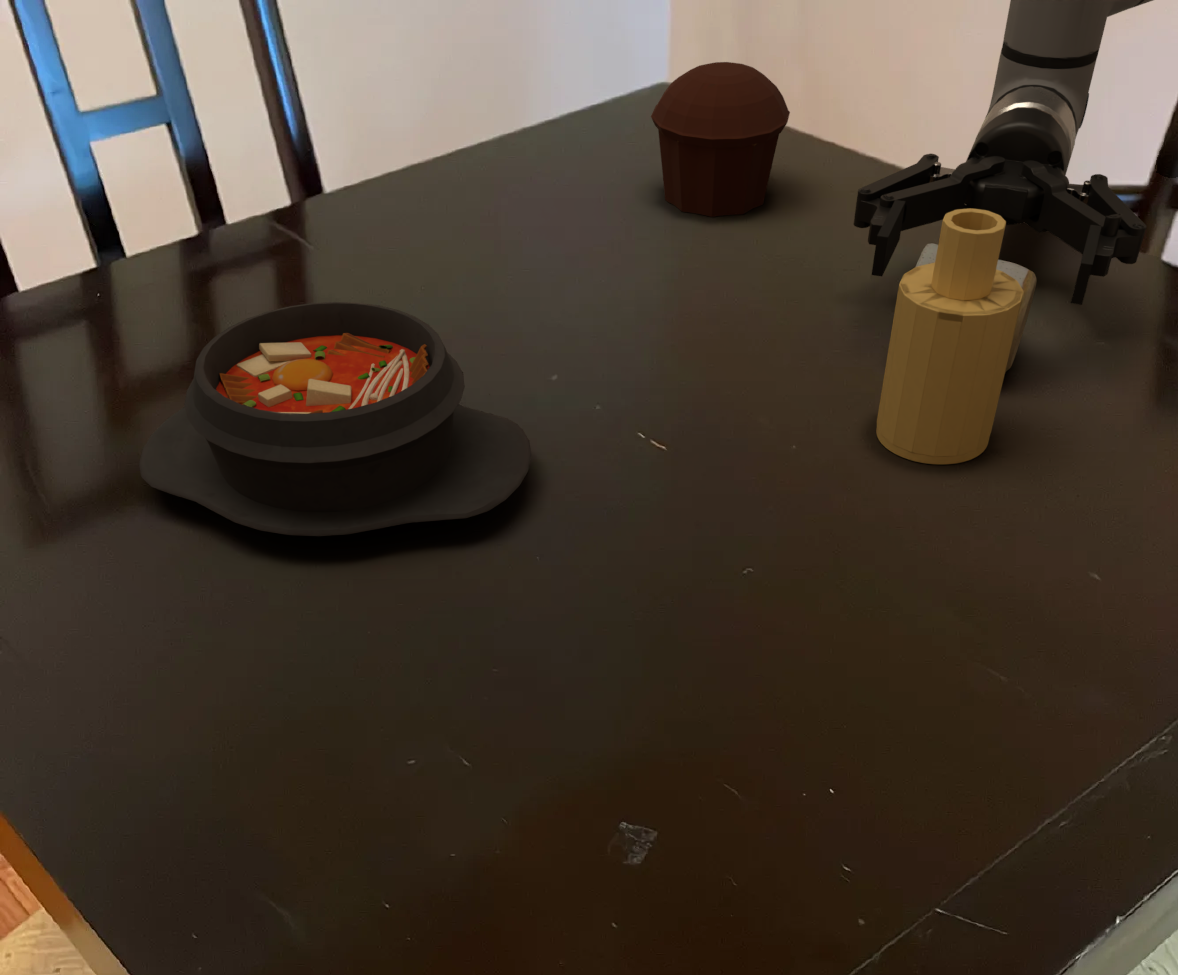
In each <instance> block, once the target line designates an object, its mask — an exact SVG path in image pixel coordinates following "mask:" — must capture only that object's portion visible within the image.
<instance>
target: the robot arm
mask: <svg viewBox="0 0 1178 975" xmlns="http://www.w3.org/2000/svg"><path fill="white" fill-rule="evenodd" d="M1153 1H1154V0H1010V1H1009V7H1008V13H1007V17H1006V23H1005V29H1004V35H1003V41H1002V47H1001V50H1000V54H999V59H998V64H997V69H996V73H995V74H996V75H995V80H994V84H993V90H992V95H991V99H990V103H989V106H988V107H989V108H988V110H987V113H986V115H985V117H984V120H983V122H982V124H981V126H980V128H979V131H978V133H977V135H976V137H975V140H974V142H973V144H972V147H971V149H970V151H969V154H968V156H967V157H966V160H965V162H962V163H960V164H958V165H957V166H956V168H949V167H944V166H942V163H941V162H940V161H939V159H940V157H939V155H938V154H935V153H926V154H923V155H922V156H921V158H920V159H919V160H918V161H917V162H916V163H914V164H912V165H909V166H907V167H905V168H902V169H900V170H899V171H896V172H894V173H892V174H889V175H887V176H885V177H883V178H880V179H878V180H876V181H874V182H871V183H869V184H867V185H865V186H862V187H859V189H858V190H857V195H856V203H855V211H854V217H853V226H854V227H856V228H859V229H865V228H868V229H869V230H868V235H867V243H868V245H872V246H875V248H874V255H873V261H872V262H873V263H872V269H871V276H875V277H883V276H884V273H885V271H886V270H887V268H888V265H889V264H890V261H891V259H892V257H893V254H894V253H895V250H896V248H897V246H898V244H899V242H900V240H901V233H902V232H903V231H907V230H910V229H914V228H918V227H921V226H925V225H928V224H933V223H936V222H939V221H943V219H944V216H945V214H947V213H949V212H951V211H954V210H957V209H969V208H971V209H972V208H973V209H980V210H987V211H990V212H993V213H995V214H998V215H1000V216H1001V217H1002V218H1003V219H1004V220H1005V221H1006V226H1009V225H1010V226H1013V225H1019V224H1025V225H1026V226H1028V227H1030V228H1031V229H1032V230H1034V231H1036V232H1037V233H1046V232H1049V233H1050V234H1052V235H1053V236H1054V237H1056V238H1058V239H1059V240H1060V241H1062V242H1063V243H1065V244H1066V245H1068V246H1069V247H1071V248H1073V249H1074V250H1075V251H1077V252H1078V253H1079V254H1081V255H1082V256H1081V260H1080V263H1079V268H1078V270H1077V274H1076V280H1075V284H1074V287H1073V292H1072V296H1071V300H1070V304H1073V305H1080V306H1081V305H1083V302H1084V298H1085V295H1086V291H1087V288H1088V284H1089V280H1090V276H1095V277H1101V278H1104V277H1105V276H1107V275H1108V273H1109V269H1110V266H1111V263H1112V259H1115V258H1116V259H1117V260H1118V261H1119V262H1120V263H1122V264H1125V265H1134V264H1136V263H1137V262H1138V257H1139V254H1140V251H1141V248H1142V244H1143V242H1144V237H1145V233H1146V230H1147V225H1146V224H1145V222H1144V221H1143V220H1142V219H1140V217H1139V216H1138V215H1137V214H1135V213H1134V212H1133V210H1132V209H1131V208H1130V207H1129V206H1128V205H1127V204H1126V203H1125V202H1124V201H1123V200H1122V199H1121V198H1120V197H1119V196H1118V195H1117V194H1116V193H1115V192H1114V191H1113V190H1112V189H1111V188H1110V187H1109V180H1108V176H1107V175H1104V174H1101V173H1096V174H1092V175H1090V179H1089V180H1084V181H1083V184H1080V183H1079V184H1077V183H1070V180H1069V178H1068V177H1067V176H1066V175H1067V171H1068V168H1069V165H1070V162H1071V158H1072V155H1073V151H1074V148H1075V145H1076V138H1077V135H1078V133H1079V130H1080V129H1081V128H1082V125H1083V122H1084V120H1085V115H1086V112H1087V108H1088V105H1089V104H1088V103H1089V97H1090V93H1089V92H1090V88H1091V83H1092V79H1093V75H1094V72H1095V67H1096V64H1097V59H1098V55H1099V52H1100V49H1101V44H1102V40H1103V37H1104V36H1103V35H1104V32H1105V27H1106V25H1107V24H1106V23H1107V19H1108V17H1111V16H1114V15H1117V14H1120V13H1122V12H1125V11H1128V10H1129V9H1133V8H1136V7H1139V6H1141V5H1144V4H1147V3H1150V2H1153Z"/></svg>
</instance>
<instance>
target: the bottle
mask: <svg viewBox="0 0 1178 975" xmlns="http://www.w3.org/2000/svg"><path fill="white" fill-rule="evenodd" d="M941 221H942V222H941V227H940V232H939V238H938V239H939V240H938V244H937V245H938V249H937V255H936V260H935V263H930V264H926V265H921V266H917V267H916V266H915V267H914V268H912V269H911V270H908V271H907V272H905V273H903V275H902V277H901V279H900V281H899V284H898V289H897V295H896V301H895V307H894V314H893V320H892V325H891V331H890V338H889V344H888V350H887V356H886V362H885V370H884V375H883V381H882V386H881V391H880V392H881V393H880V398H879V405H878V411H877V417H876V428H875V429H876V430H875V431H876V437H877V439H878V441H879V442H880V443H881V446H883V447H884V448H885V449H886V450H887V451H890V452H891V453H893V455H896V456H898V457H901V458H903V459H906V460H909V461H912V462H916V463H921V464H928V465H954V464H955V465H956V464H960V463H964V462H968V461H971V460H973V459H975V458H977V457H978V456H980V455H981V454H982V453H984V452H985V450H986V449H987V447H988V446H989V441H990V437H991V433H992V431H993V427H994V422H995V417H996V412H997V408H998V404H999V400H1000V396H1001V391H1002V387H1003V383H1004V379H1005V374H1006V372H1005V370H1006V366H1007V362H1008V358H1009V353H1010V349H1011V345H1012V340H1013V336H1014V332H1015V328H1016V323H1017V319H1018V315H1019V310H1020V306H1021V302H1022V298H1023V293H1024V291H1023V289H1022V288H1021V286H1020V284H1019V283H1018V281H1017V280H1015V279H1014V278H1012V277H1011V276H1009V275H1008V274H1006V273H1004V272H1002V271H1000V270H997V269H996V267H997V263H998V260H999V258H1000V254H1001V253H1000V252H1001V249H1002V244H1003V238H1004V235H1005V230H1006V226H1007V225H1006V221H1005V220H1004V219H1003V218H1002V217H1001V216H1000V215H998V214H995V213H993V212H990V211H987V210H980V209H973V208H972V209H971V208H969V209H957V210H954V211H951V212H949V213H947V214H945V216H944V219H943V220H941Z"/></svg>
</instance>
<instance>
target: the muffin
mask: <svg viewBox="0 0 1178 975" xmlns="http://www.w3.org/2000/svg"><path fill="white" fill-rule="evenodd" d="M790 113H791V112H790V111H789V108H788V106H787V103H786V100H785V97H784V96H783V94H782V93H781V91H780V90H779V88H778V86H777V85H776V84H775V83H773V81H772V80H771V79H769V77H767V76H766V75H765V74H764V73H762V72H761V71H759V70H758V69H757V68H755V67H753V66H750V65H748V64H744V63H739V62H732V61H731V62H730V61H719V62H718V61H716V62H710V63H705V64H701V65H697V66H696V67H693V68H691V69H689V70H688V71H686V72H684V73H683V74H681V75H680V76H678V77H676V78H675V79H674V80H673V81H672V82H670V84H669V85H668V87H667V88H666V89H665V91H664V92H663V94H662V95H661V97H660V99H659V100H658V102H657V104H656V105H655V106H654V109H653V110H652V113H651V115H650V119H651V120H652V122H653V124H654V126H655V127H656V128H657V130H658V139H659V141H658V142H659V150H660V161H661V170H662V171H661V172H662V181H663V191H664V192H663V193H664V200H665V201H666V202H667V203H669V204H671V205H673V206H674V207H676V208H677V209H678V210H679V211H681V212H684V213H689V214H690V213H691V214H697V215H701V216H707V217H711V218H714V217H722V216H730V215H731V216H732V215H733V216H734V215H745V214H746V213H748V212H749V211H751V210H753V209H755V208H758V207H761V206H763V205H764V201H765V198H766V192H767V189H768V186H769V185H768V184H769V180H770V175H771V171H772V168H773V162H774V158H775V153H776V149H777V145H778V142H779V136H780V134H781V133H782V132H783V130H784V129H785V127H786V126H787V125H788V121H789V118H790Z"/></svg>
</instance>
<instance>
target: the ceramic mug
mask: <svg viewBox="0 0 1178 975" xmlns="http://www.w3.org/2000/svg"><path fill="white" fill-rule="evenodd" d="M937 249H938V244H937V243H931V242H930V243H927V244H926V245H925V246H924V248H923V249H922V251H921V253H920V256H919V258H918V260H917V263H916V265H915V267H917V266H921V265H926V264H930V263H935V260H936V255H937ZM996 269H997V270H1000V271H1002V272H1004V273H1006V274H1008V275H1009V276H1011V277H1012V278H1014V279H1015V280H1017V281H1018V283H1019V284H1020V286H1021V288H1022V289H1023V291H1024V293H1023V298H1022V302H1021V306H1020V310H1019V315H1018V319H1017V323H1016V328H1015V332H1014V336H1013V340H1012V345H1011V349H1010V353H1009V358H1008V362H1007V366H1006V370H1005V373H1006V372H1007V371H1008V370H1010V369H1011V368H1012V366H1013V364H1014V360H1015V358H1016V355H1017V352H1018V350H1019V346H1020V343H1021V341H1022V337H1023V334H1024V331H1025V327H1026V324H1027V320H1028V317H1029V314H1030V310H1031V307H1032V304H1033V300H1034V296H1035V291H1036V287H1037V282H1038V279H1037V276H1036V274H1035V272H1033V271H1032V270H1030V269H1028V268H1027V267H1024V266H1022V265H1021V264H1017V263H1014V262H1010V261H1006V260H1002V259H998V263H997V267H996Z"/></svg>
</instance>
